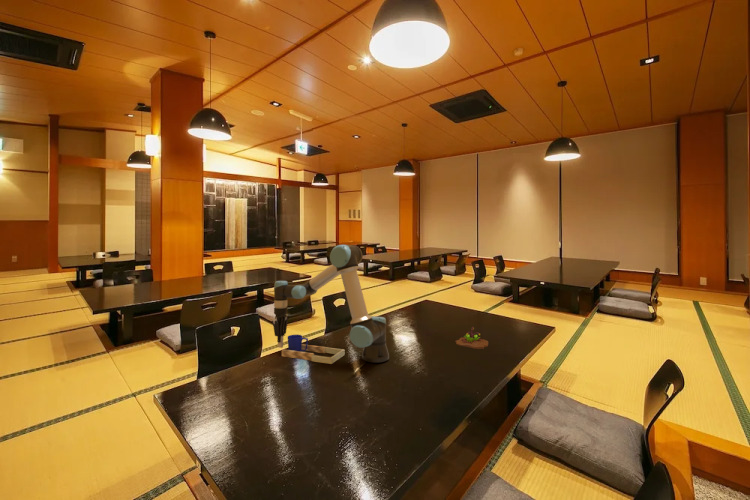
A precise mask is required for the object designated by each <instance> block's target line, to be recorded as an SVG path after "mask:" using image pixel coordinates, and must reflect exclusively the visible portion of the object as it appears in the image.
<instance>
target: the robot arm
mask: <svg viewBox="0 0 750 500" xmlns="http://www.w3.org/2000/svg"><path fill="white" fill-rule="evenodd" d="M362 260H363V252H362V250H361V248H360V247H359V246H357V245H355V244H351V245H350V244H338V245H336V246H334V247H333V248H332V250H331V252H330V253H329V261H330V263H331V264H330V265H329V266H328V267H326V268H325V269H324V270H322V271H320V272H319V273H318V274H316V275H314V277H312V278H311V279H310V280H308V281H307V282H306V283H301V284H288V281H287V280H276V281H274V285H273V286H274V287H273V294H274V295H273V296H274V298H273V301H274V302H273V303H274V304H273V305H274V308H273V313H274V315H275V316H274V319H273V320H272V321H271V322H272V325H273V332H274V333H273V334H274V336H275V337H276V339H277V348H281V349H283V347H284V336H286V334H287V328H288V327H287V326H288V322H289V319H290V318H289V317H288V316H287V314H288V299H296V300H299V299H300V300H302V299H304V298H305V297H307V296H313V295H315V294H316V293H317V292H318V290H321V288H322V287H324V286H326V285H327V284H329V283H330V282H331V281H332V280H334V279H336V278H337V277H339V276H341V280H342V284H343V288H344V293H345V295H346V300H347V304H348V307H349V308H348V309H349V312H350V316H351V320H350V327H351V329H350V332H349V339H350V342H351V343H352V344H353V346H355V347H357V348H359V349H362V353H361V359H362V360H363V361H365V362H368V363H383V362H387V361H388V360H389V359H390V353H389V350H388V347H387V319H386V317H384V316H373V315H370V314H368V308H367V305H366V302H365V298H364V294H363V293H364V292H363V290H362V286H361V282H360V279H359V278H360V277H359V275H358V269H359V264H360V263H361V262H362Z"/></svg>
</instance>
